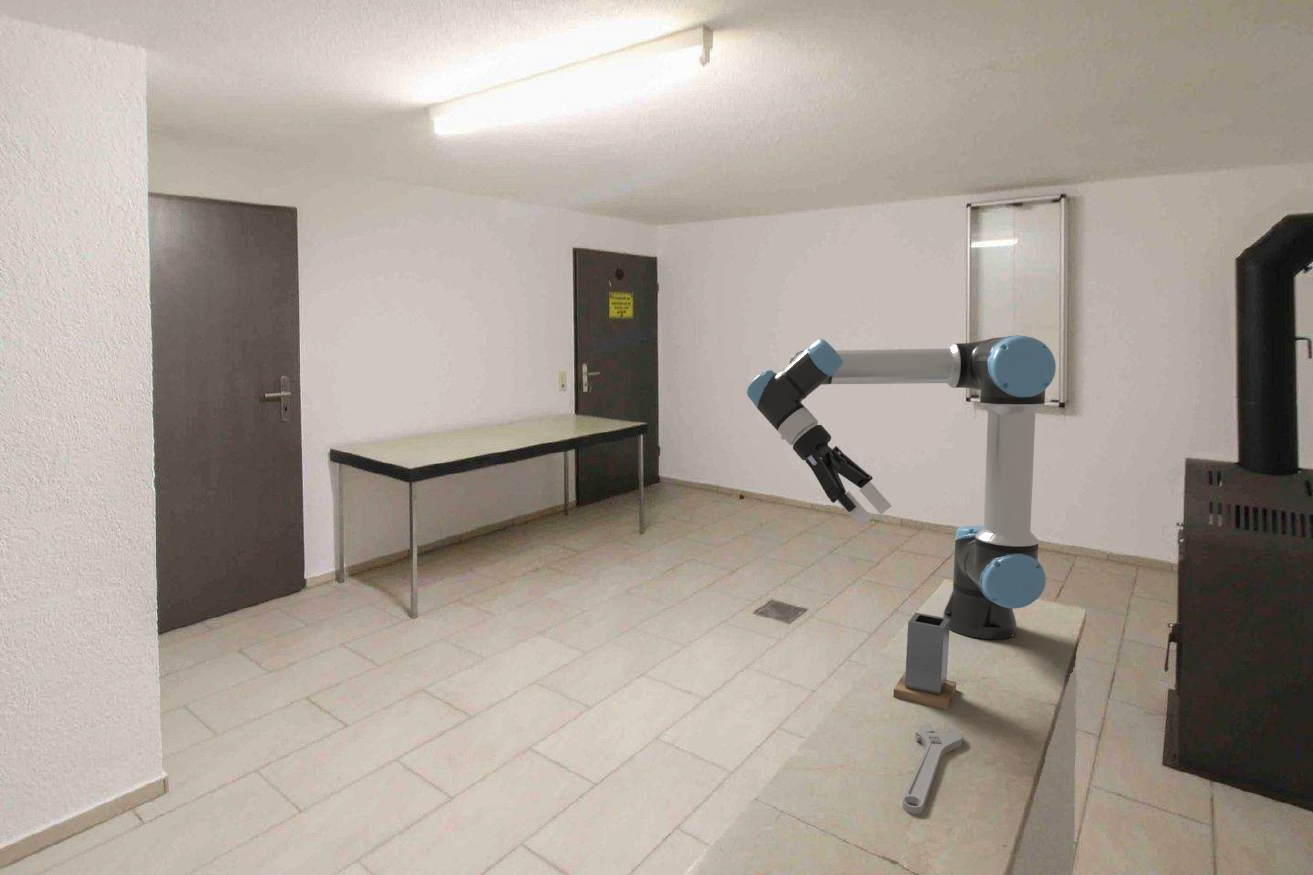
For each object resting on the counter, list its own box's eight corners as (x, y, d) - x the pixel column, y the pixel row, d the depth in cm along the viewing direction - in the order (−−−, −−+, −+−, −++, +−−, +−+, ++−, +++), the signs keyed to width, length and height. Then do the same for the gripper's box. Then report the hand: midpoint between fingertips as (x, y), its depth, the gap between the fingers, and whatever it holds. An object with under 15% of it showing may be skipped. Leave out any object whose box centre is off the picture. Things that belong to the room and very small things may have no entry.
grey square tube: (912, 675, 134) (915, 612, 133) (946, 683, 131) (950, 618, 130) (904, 686, 129) (908, 621, 128) (940, 695, 126) (944, 628, 125)
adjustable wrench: (920, 820, 95) (921, 808, 95) (872, 803, 99) (873, 791, 99) (965, 739, 115) (966, 728, 115) (924, 727, 119) (924, 717, 119)
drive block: (905, 680, 137) (906, 649, 136) (955, 692, 132) (957, 659, 131) (893, 699, 129) (894, 666, 128) (946, 712, 124) (948, 677, 124)
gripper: (814, 441, 159) (880, 516, 153) (767, 453, 138) (842, 541, 132) (838, 418, 156) (907, 494, 149) (794, 427, 135) (872, 515, 128)
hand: (877, 516), depth 140 cm, fingers open, 13 cm apart
